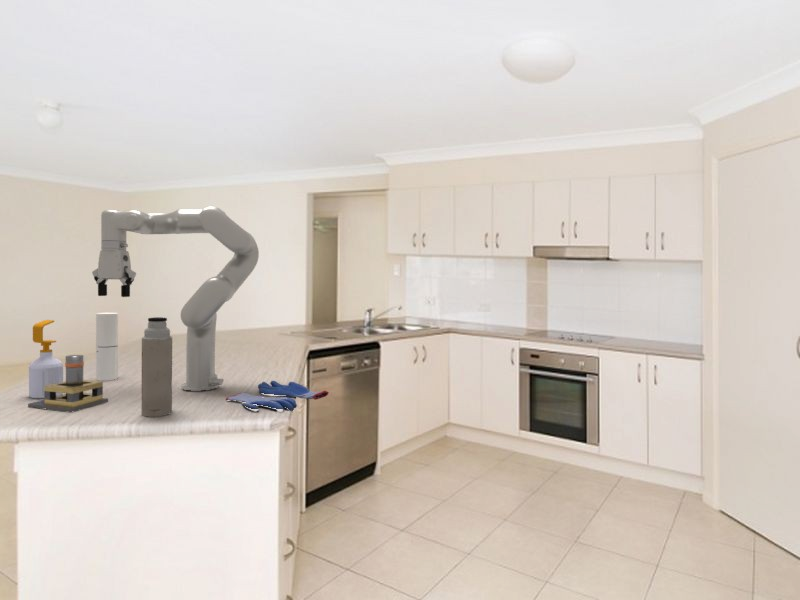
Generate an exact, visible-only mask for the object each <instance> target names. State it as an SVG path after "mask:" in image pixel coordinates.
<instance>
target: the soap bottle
mask: <svg viewBox="0 0 800 600" xmlns="http://www.w3.org/2000/svg"><path fill="white" fill-rule="evenodd" d="M53 323H55V320H54V319H45V320H41V321H39V322H37V323H34V324H33V326H32V342H34V343H37V344H40V346H42V349H40V350H39V357H38V358H36V359H35V360H33V361H32V362H31V363H30V364H29V366H28V395H29V397H30V398H32V399H37V398H38V399H45V398H44V386H46V385H51V384H56V383H60V382H64V363H63V362H62V361H61V360H60V359H58V358H56V357H54V356H53V349H50V346H52V344H53V343H57V340H52V339H47V340H46V339H45V340H44V338H43V337H44V327H45V326H48V325H50V324H53ZM60 395H64V393H59V392H56V396H60Z"/></svg>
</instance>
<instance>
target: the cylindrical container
mask: <svg viewBox="0 0 800 600" xmlns="http://www.w3.org/2000/svg"><path fill="white" fill-rule="evenodd" d="M117 378H118V379H119V313H118V312H96V313H95V381H98V380H99V381H100V382H103V381H105V382H107V381H108V380H109V381H115V380H117ZM114 379H115V380H114ZM109 381H108V382H109Z"/></svg>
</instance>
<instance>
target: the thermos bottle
mask: <svg viewBox="0 0 800 600" xmlns="http://www.w3.org/2000/svg"><path fill="white" fill-rule="evenodd" d="M147 321H148V322H147V328H145V329H144V332H143V334H144V336H142V337H141V416H143V417H146V416H148V417H150V418H153V416H158V417H162V416H161V415H164V416H167V415H166V414H168V415H170V414H172V412H173V336H171V335H170V334H171V330H170V328H168V327H167V321H168V318H167V317H161V316H160V317H159V316H158V317H156V316H155V317H148V319H147ZM169 413H170V414H169ZM148 417H147V418H148Z"/></svg>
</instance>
